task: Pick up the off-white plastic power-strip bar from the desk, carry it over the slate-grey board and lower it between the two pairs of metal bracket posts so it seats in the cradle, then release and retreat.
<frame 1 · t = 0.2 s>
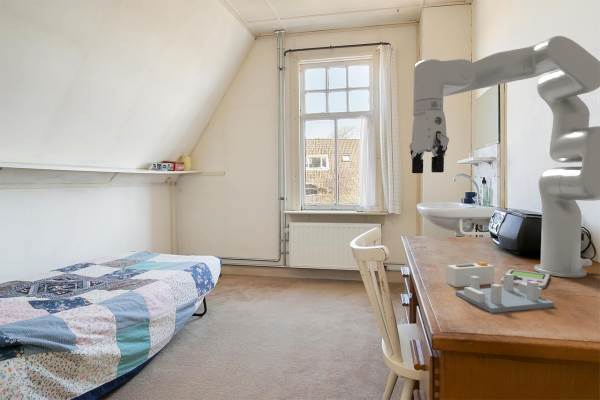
hand: (427, 172, 95), 30 cm above the table, tool pointing down, fingers open, 9 cm apart
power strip: (469, 283, 96), on the table
bracket board: (502, 300, 82), on the table
handheld gaming console: (525, 282, 98), on the table
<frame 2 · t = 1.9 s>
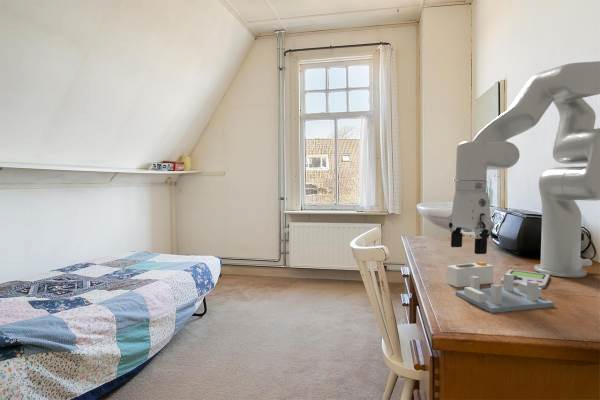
hand: (467, 250, 95), 9 cm above the table, tool pointing down, fingers open, 9 cm apart
nothing on the table moved.
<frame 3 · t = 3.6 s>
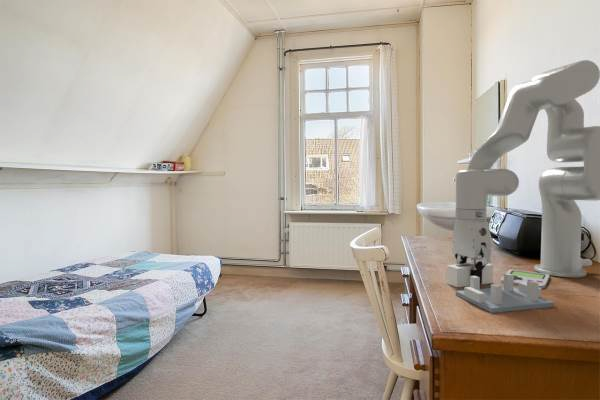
hand: (469, 280, 96), 1 cm above the table, tool pointing down, fingers closed on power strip, 4 cm apart
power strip: (469, 283, 96), on the table, touching gripper
everything else where it was.
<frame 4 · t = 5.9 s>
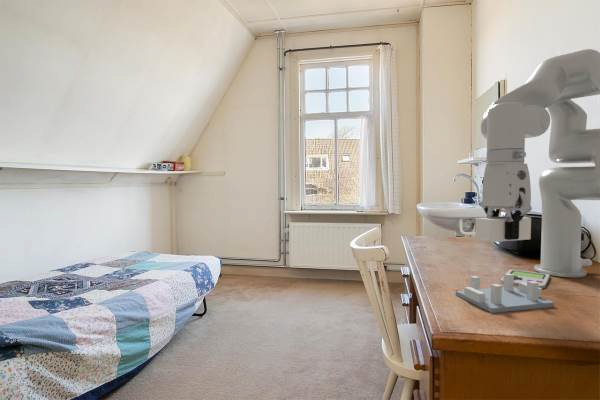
hand: (503, 236, 81), 15 cm above the table, tool pointing down, fingers closed on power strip, 4 cm apart
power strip: (502, 239, 81), point 14 cm above the table, touching gripper
everything else where it was.
when the fingers open (2 cm above the table, at t = 8.4 s): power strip stays where it is, resting on bracket board.
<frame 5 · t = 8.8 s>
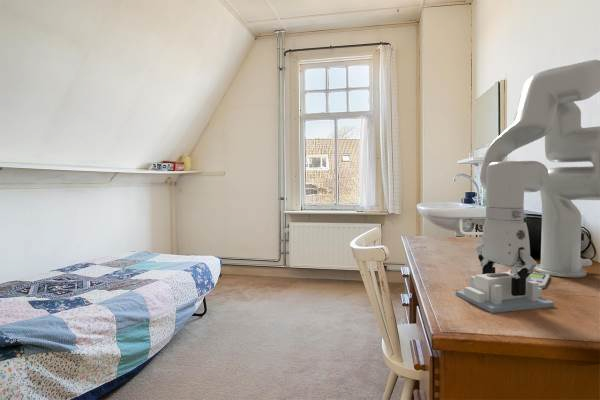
hand: (502, 288, 81), 3 cm above the table, tool pointing down, fingers open, 8 cm apart
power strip: (502, 296, 82), point 1 cm above the table, touching bracket board
everything else where it was.
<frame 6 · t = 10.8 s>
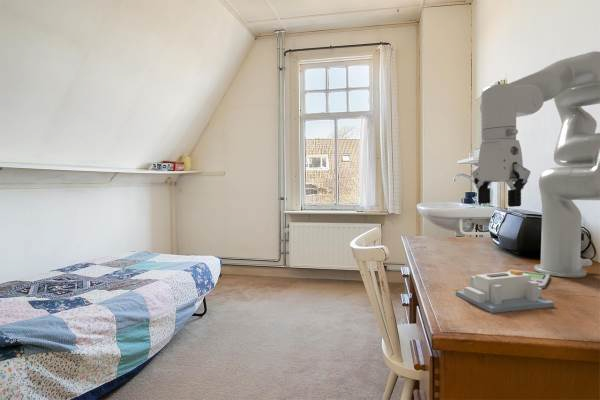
hand: (498, 204, 88), 22 cm above the table, tool pointing down, fingers open, 9 cm apart
nothing on the table moved.
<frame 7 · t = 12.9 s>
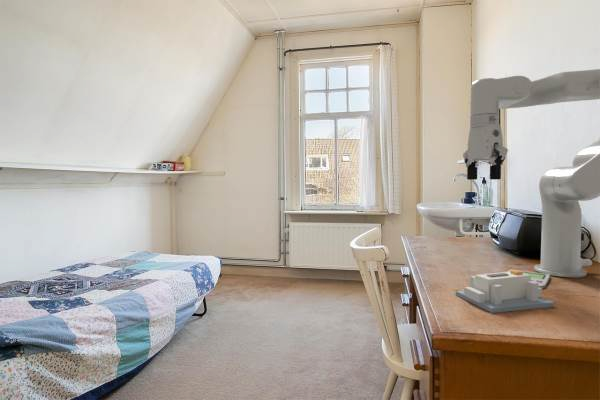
hand: (483, 179, 105), 28 cm above the table, tool pointing down, fingers open, 9 cm apart
nothing on the table moved.
at the end: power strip 0.1 cm off-centre on the bracket board, point 1.0 cm above the bracket board's base; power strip tilted 0°; the gripper is holding nothing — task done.
